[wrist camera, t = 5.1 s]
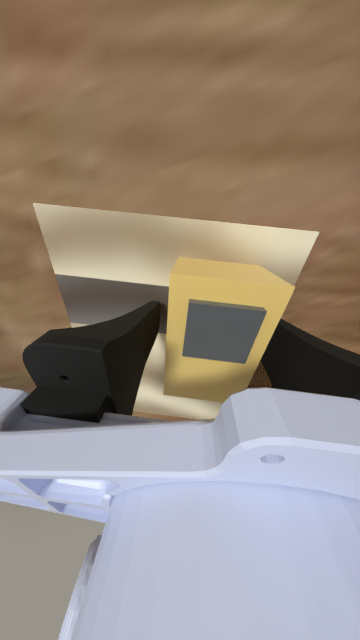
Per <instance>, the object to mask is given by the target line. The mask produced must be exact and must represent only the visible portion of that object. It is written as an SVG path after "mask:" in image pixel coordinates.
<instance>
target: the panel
mask: <svg viewBox="0 0 360 640" xmlns="http://www.w3.org/2000/svg"><path fill="white" fill-rule="evenodd" d="M33 206H34V209H35V212H36V215H37V218H38V222H39V225H40V228H41V231H42V234H43V237H44V240H45V244H46V247H47V250H48V253H49V256H50V259H51V263H52V266H53V269H54V272H55V275H56V278H57V282H58V285H59V288H60V291H61V294H62V297H63V301H64V304H65V307H66V310H67V313H68V316H69V319H70V323H71V326H72V328H74V327H81V326H86V325H92V324H96V323H100V322H104V321H108V320H111V319H114V318H117V317H120V316H122V315H125V314H127V313H129V312H131V311H133V310H135V309H137V308H139V307H141V306H143V305H145V304H146V303H148V302H150V301H158V302H160V327H159V331H158V335H157V338H156V340H155V343H154V345H153V347H152V350H151V352H150V355H149V357H148V359H147V362H146V365H145V368H144V371H143V375H142V378H141V382H140V386H139V389H138V393H137V397H136V401H135V404H134V408H133V411H138V412H146V413H153V414H161V415H168V416H176V417H183V418H191V419H199V420H203V419H216V417H217V416H218V413H219V410H220V408H221V405H222V404H223V403H222V402H214V401H207V400H199V399H191V398H183V397H176V396H168V395H163V391H164V372H165V354H166V335H167V316H168V298H169V279H170V272H171V270H172V268H173V266H174V265H175V263H176V261H177V259H178V257H185V258H194V259H203V260H213V261H222V262H231V263H241V264H250V265H259V266H261V267H263V268H265V269H266V270H268V271H270V272H271V273H273V274H275V275H276V276H278V277H280V278H281V279H283V280H284V281H286V282H288V283H289V284H291V285H293V286H294V285H295V282H296V280H297V278H298V276H299V274H300V272H301V270H302V268H303V266H304V263H305V261H306V259H307V257H308V255H309V253H310V251H311V249H312V247H313V244H314V242H315V240H316V238H317V236H318V234H319V232H314V231H304V230H294V229H285V228H275V227H265V226H255V225H245V224H235V223H225V222H215V221H206V220H196V219H186V218H176V217H166V216H156V215H146V214H136V213H127V212H117V211H107V210H97V209H87V208H77V207H67V206H57V205H48V204H38V203H33Z"/></svg>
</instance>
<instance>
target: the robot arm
mask: <svg viewBox="0 0 360 640" xmlns="http://www.w3.org/2000/svg"><path fill="white" fill-rule="evenodd" d="M159 327H160V302H158V301H150V302H148V303H146V304H145V305H143V306H141V307H139V308H137V309H135V310H133V311H131V312H129V313H127V314H125V315H122V316H120V317H117V318H114V319H111V320H108V321H104V322H100V323H96V324H92V325H86V326H81V327H74V328H65V329H55V330H49V331H48V332H47V333H45V334H44V335H42V336H41V337H40V338H38V339H37V340H36V341H34V342H33V343H32V344H30V345H29V346H27V347H26V348H25V349H24V352H23V362H24V365H25V367H26V369H27V370H28V372H29V374H30V375H31V377H32V379H33V381H34V382H35V384H36V386H37V388H36V389H35V390H34V391H33V392H32V393H31V394H30V393H28V392H26V391H24V390H20V389H12V388H5V387H0V501H2V502H7V503H13V504H17V505H23V506H28V507H33V508H37V509H42V510H46V511H51V512H56V513H61V514H66V515H70V516H75V517H80V518H84V519H89V520H94V521H98V522H103V523H106V524H105V527H104V530H103V534H102V535H98V536H97V538H96V539H95V540H94V541H93V542H92V543H91V544H90V546H89V549H88V552H87V554H86V556H85V559H84V562H83V565H82V567H81V570H80V573H79V576H78V579H77V582H76V585H75V588H74V591H73V594H72V597H71V600H70V603H69V606H68V609H67V613H66V616H65V619H64V622H63V625H62V628H61V632H60V635H59V638H58V640H360V355H359V354H356V353H354V352H351V351H348V350H345V349H343V348H340V347H338V346H335V345H333V344H330V343H328V342H326V341H323V340H321V339H319V338H317V337H315V336H313V335H311V334H309V333H307V332H305V331H303V330H301V329H299V328H297V327H295V326H293V325H292V324H290V323H288V322H286V321H284V320H282V319H280V320H279V323H278V325H277V327H276V329H275V331H274V333H273V335H272V337H271V339H270V341H269V343H268V345H267V347H266V350H265V352H264V354H263V356H262V358H261V361H262V364H263V366H264V368H265V370H266V372H267V374H268V376H269V379H270V381H271V384H272V387H273V388H268V387H261V388H246V389H244V390H241V391H239V392H236V393H233V394H232V395H231V396H230V397H229V398H228V399H227V400H226V401H225V402H224V403H223V404H222V405H221V408H220V410H219V413H218V416H217V417H216V419H203V420H186V421H167V420H159V419H152V418H144V417H137V416H132V412H133V408H134V404H135V401H136V397H137V393H138V389H139V386H140V382H141V378H142V375H143V371H144V368H145V365H146V362H147V359H148V357H149V355H150V352H151V350H152V347H153V345H154V343H155V340H156V338H157V335H158V331H159Z"/></svg>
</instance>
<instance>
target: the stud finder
mask: <svg viewBox="0 0 360 640" xmlns="http://www.w3.org/2000/svg"><path fill="white" fill-rule="evenodd" d="M294 289H295V287H294V286H293V285H291V284H289V283H288V282H286V281H284V280H283V279H281V278H280V277H278V276H276V275H275V274H273V273H271V272H270V271H268V270H266V269H265V268H263V267H261V266H259V265H250V264H241V263H231V262H222V261H213V260H203V259H194V258H185V257H178V259H177V261H176V263H175V265H174V266H173V268H172V270H171V272H170V279H169V298H168V316H167V335H166V354H165V372H164V391H163V395H168V396H176V397H183V398H191V399H199V400H207V401H214V402H222V403H224V402H225V401H226V400H227V399H228V398H229V397H230V396H231V395H232V394H233V393H236V392H239V391H241V390H244V389H246V388H247V387H248V385H249V383H250V381H251V379H252V377H253V375H254V372H255V370H256V368H257V366H258V364H259V362H260V360H261V358H262V356H263V354H264V352H265V350H266V347H267V345H268V343H269V341H270V339H271V337H272V335H273V333H274V331H275V329H276V327H277V325H278V323H279V320H280V318H281V316H282V314H283V312H284V310H285V308H286V306H287V304H288V302H289V300H290V298H291V295H292V293H293V291H294Z"/></svg>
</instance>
